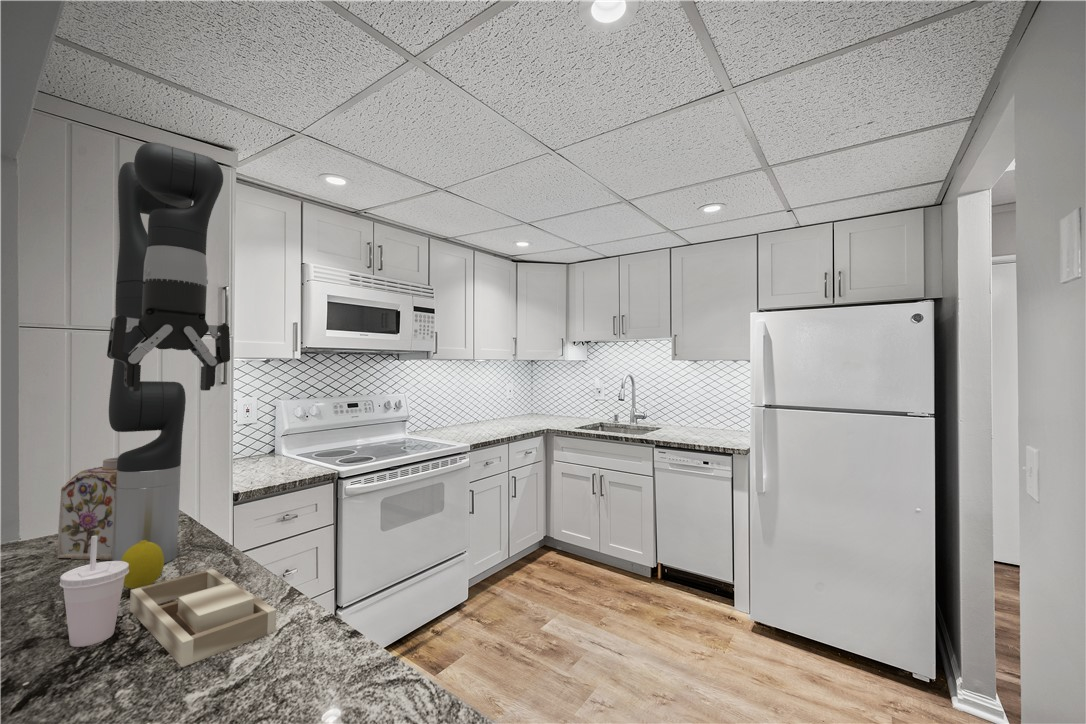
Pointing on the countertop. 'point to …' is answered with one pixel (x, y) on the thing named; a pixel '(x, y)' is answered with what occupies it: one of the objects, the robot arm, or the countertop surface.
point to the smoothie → (93, 598)
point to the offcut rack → (206, 642)
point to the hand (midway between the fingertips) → (171, 390)
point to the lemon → (143, 564)
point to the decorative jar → (88, 513)
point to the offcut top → (215, 606)
